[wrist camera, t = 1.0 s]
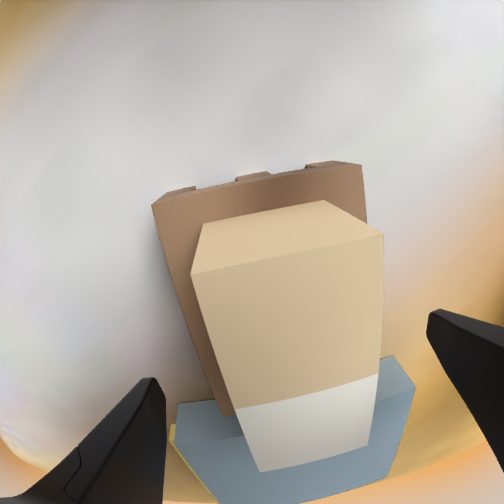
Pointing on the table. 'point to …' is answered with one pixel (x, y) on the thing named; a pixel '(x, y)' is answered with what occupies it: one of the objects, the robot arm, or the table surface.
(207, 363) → the pallet
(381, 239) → the tan carton
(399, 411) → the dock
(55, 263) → the table surface
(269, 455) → the off-white carton
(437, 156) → the table surface
